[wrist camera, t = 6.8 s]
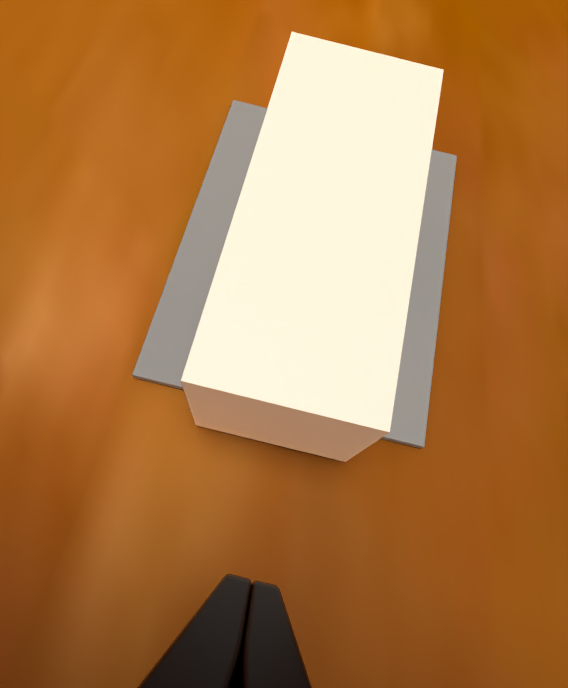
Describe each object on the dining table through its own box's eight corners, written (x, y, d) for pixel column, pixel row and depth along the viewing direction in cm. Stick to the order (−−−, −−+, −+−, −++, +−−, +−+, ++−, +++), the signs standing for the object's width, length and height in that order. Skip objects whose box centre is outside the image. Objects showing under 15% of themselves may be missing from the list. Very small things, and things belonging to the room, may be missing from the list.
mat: (420, 448, 17) (424, 446, 17) (133, 377, 17) (132, 374, 17) (453, 160, 22) (456, 155, 22) (233, 105, 22) (233, 100, 22)
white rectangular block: (396, 433, 12) (448, 67, 16) (174, 379, 12) (288, 27, 16) (348, 463, 16) (399, 174, 21) (191, 425, 16) (276, 144, 21)
